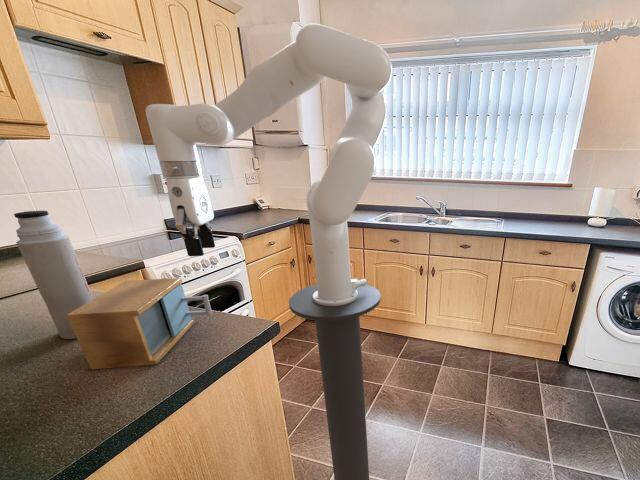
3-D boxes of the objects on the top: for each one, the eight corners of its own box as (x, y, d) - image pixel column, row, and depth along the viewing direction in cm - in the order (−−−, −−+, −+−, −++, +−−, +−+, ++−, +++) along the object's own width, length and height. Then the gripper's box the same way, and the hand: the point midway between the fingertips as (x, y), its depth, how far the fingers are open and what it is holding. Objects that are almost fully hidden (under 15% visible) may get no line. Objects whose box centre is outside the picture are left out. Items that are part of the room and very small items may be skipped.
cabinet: (194, 323, 84) (181, 277, 79) (156, 364, 67) (137, 310, 63) (142, 326, 82) (125, 280, 77) (90, 369, 66) (65, 314, 61)
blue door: (216, 317, 84) (207, 282, 80) (202, 335, 76) (191, 296, 72) (189, 319, 83) (178, 283, 79) (172, 337, 75) (159, 298, 71)
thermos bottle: (102, 319, 86) (56, 207, 74) (106, 330, 80) (57, 211, 69) (60, 330, 81) (4, 211, 69) (61, 342, 75) (0, 216, 64)
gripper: (182, 172, 65) (205, 261, 72) (215, 168, 81) (230, 242, 88) (140, 173, 64) (167, 263, 71) (181, 169, 80) (200, 243, 87)
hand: (202, 250), depth 80 cm, fingers open, 6 cm apart
